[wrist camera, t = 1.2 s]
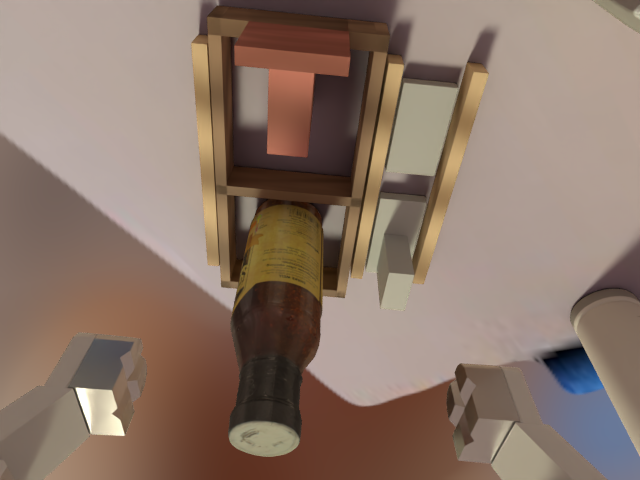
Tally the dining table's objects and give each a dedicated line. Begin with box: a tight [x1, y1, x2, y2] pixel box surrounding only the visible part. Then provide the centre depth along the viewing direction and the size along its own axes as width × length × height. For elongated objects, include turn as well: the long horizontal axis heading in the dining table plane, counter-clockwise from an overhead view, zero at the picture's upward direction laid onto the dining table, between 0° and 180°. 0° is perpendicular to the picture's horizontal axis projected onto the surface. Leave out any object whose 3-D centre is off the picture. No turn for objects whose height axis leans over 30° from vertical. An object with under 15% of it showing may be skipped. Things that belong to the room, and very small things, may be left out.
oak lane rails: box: [191, 35, 489, 284], centre depth 37 cm, size 19×19×2 cm
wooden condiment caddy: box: [207, 6, 390, 298], centre depth 34 cm, size 22×11×8 cm, turn 175°
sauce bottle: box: [228, 199, 323, 457], centre depth 34 cm, size 6×6×20 cm
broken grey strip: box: [365, 78, 458, 311], centre depth 36 cm, size 18×4×6 cm, turn 175°
